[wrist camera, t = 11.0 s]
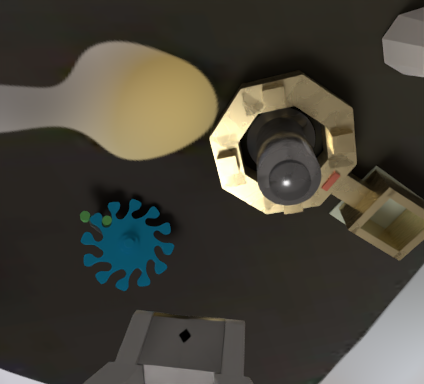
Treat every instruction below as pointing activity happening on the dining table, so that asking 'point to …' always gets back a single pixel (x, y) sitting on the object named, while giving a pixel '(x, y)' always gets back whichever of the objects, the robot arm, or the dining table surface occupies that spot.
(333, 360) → the dining table surface
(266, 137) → the stud
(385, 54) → the salt shaker
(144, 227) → the gear
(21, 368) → the dining table surface
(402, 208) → the pad
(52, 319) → the dining table surface
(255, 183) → the octagonal ring with loop
